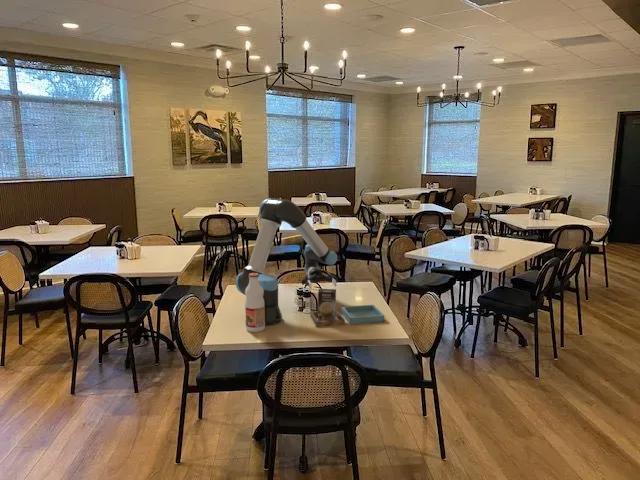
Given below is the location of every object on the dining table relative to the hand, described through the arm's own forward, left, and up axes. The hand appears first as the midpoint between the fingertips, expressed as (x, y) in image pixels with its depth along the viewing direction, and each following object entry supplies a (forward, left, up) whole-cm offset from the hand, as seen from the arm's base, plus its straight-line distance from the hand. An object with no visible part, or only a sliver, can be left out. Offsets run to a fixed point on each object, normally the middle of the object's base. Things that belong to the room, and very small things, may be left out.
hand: (323, 284), depth 265 cm
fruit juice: (-38, -15, -16) cm, 44 cm away
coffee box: (-1, -11, -16) cm, 20 cm away
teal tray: (+18, -11, -16) cm, 27 cm away
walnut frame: (-1, -11, -16) cm, 19 cm away
